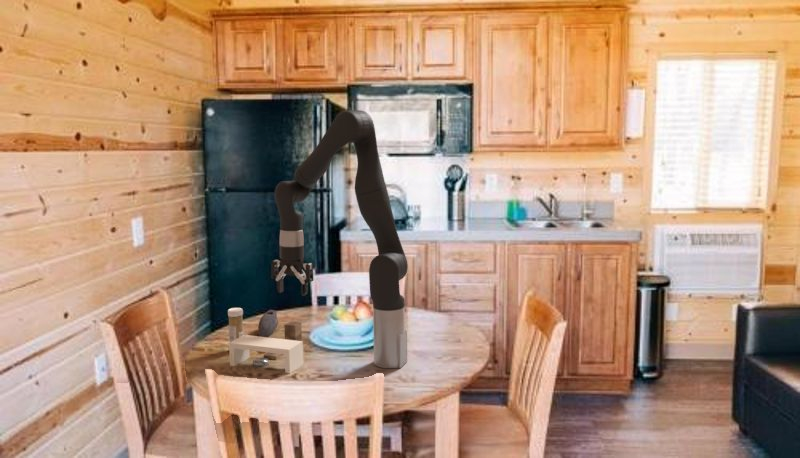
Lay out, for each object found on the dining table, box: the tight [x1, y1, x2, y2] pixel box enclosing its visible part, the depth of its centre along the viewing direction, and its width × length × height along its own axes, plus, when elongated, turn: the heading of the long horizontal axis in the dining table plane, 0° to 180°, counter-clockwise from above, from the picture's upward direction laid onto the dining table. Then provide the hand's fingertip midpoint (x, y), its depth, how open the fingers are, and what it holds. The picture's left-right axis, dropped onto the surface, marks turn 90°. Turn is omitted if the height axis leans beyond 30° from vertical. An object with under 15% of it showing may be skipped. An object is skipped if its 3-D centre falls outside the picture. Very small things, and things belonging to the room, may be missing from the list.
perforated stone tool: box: [257, 309, 279, 338], centre depth 215 cm, size 15×5×7 cm, turn 175°
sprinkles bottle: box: [227, 307, 245, 343], centre depth 198 cm, size 5×5×13 cm
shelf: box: [228, 334, 305, 374], centre depth 185 cm, size 20×8×7 cm, turn 70°
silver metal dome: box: [252, 357, 269, 368], centre depth 186 cm, size 4×4×2 cm
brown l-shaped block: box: [263, 320, 303, 360], centre depth 198 cm, size 4×16×7 cm, turn 160°
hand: (292, 293), depth 201 cm, fingers open, 8 cm apart
